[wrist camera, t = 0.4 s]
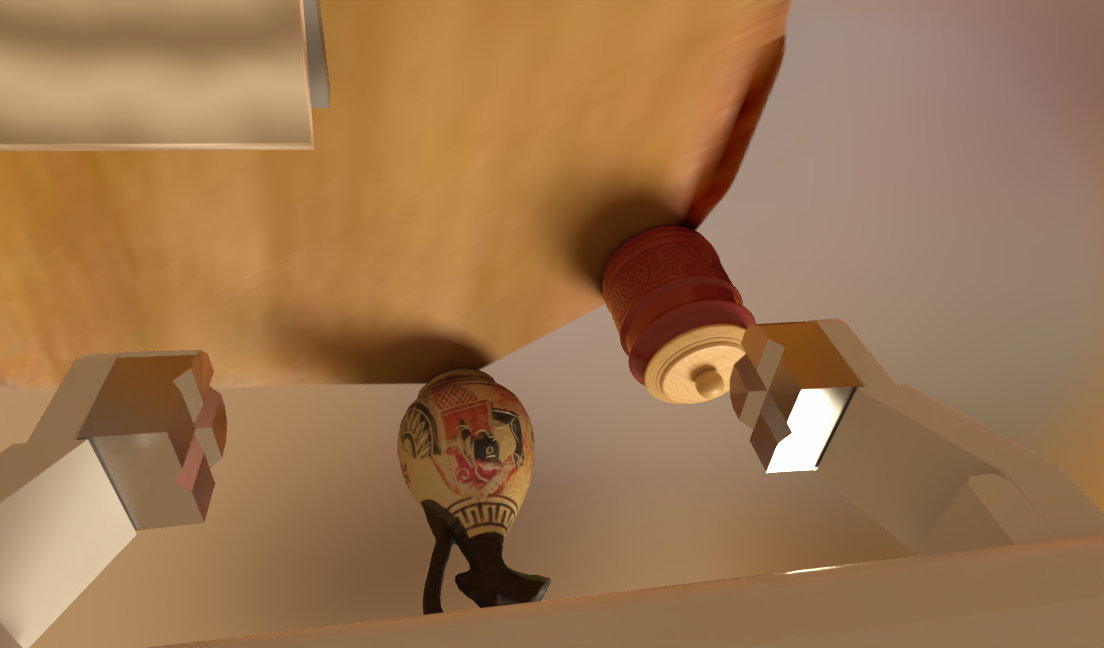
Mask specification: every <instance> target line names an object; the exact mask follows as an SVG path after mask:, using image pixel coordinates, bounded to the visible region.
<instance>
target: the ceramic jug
mask: <svg viewBox="0 0 1104 648" xmlns="http://www.w3.org/2000/svg"><path fill="white" fill-rule="evenodd" d="M398 457H399V460H400V466H401V470H402V473H403V476H404V478H405V481H406V484H407V485H408V488H409V489H410V491H411V493H412V495H413V496H414V498H415V500H416V501H417V502H418V504H419V505H420V506H421V507H422V509H423V510H424V512H425V514H426V517H427V521H428V523H429V526H430V528H431V530H432V533H433V535H434V536H435V538H436V544H435V547H434V551H433V554H432V557H431V562H430V567H429V571H428V576H427V579H426V582H425V587H424V595H423V613H424V615H427V614H436V613H443V610H442V608H441V604H440V595H441V587H442V582H443V577H444V570H445V567H446V564H447V561H448V559H449V555H450V551H451V547H452V545H453V544H456V545H458V546H459V548H460V550H461V552H462V553H463V555H464V556H465V558H466V559H467V561H468V562H469V565H470V570H469V571H467V572H464V573H460V574H458V575H457V576H456V577H455V582H456V584H457V586H458V588H459V590H460V591H462V592H463V593H464V594H465V595H466V596H467V597H469V598H470V599H472V600H473V601H474V602H475V603H476V604H477V605H478V606H479V607H480V608H487V607H495V606H504V605H512V604H521V603H529V602H538V601H540V600H541V599H542V597H543V596H544V595H545V593H546V591H547V589H548V587H549V585H550V583H551V579H550V578H547V577H543V576H539V575H527V574H524V573H520V572H517V571H513V570H512V569H510V568H508V567H507V566H506V565H505V564H504V562H503V559H502V548H503V546H502V544H503V542H504V539H505V536H506V534H507V532H508V531H509V529H510V527H511V525H512V523H513V521H514V519H515V517H516V516H517V514H518V512H519V509H520V506H521V504H522V502H523V500H524V497H525V494H526V492H527V489H528V486H529V483H530V480H531V475H532V468H533V461H534V435H533V428H532V425H531V422H530V419H529V416H528V414H527V412H526V411H525V409H524V407H523V405H522V404H521V402H520V401H519V400H518V398H517V397H516V396H515V395H514V394H513V393H512V392H511V391H509V390H508V389H506V388H505V387H503V386H501V385H499V384H497V383H495V381H494V379H493V378H492V377H490V375H488V374H486V373H485V372H482V371H480V370H473V369H467V368H464V369H455V370H450V371H447V372H444V373H442V374H440V375H438V376H436V377H435V378H433V379H432V380H431V381H429V382H428V383H427V384H426V385H425V386H424V387H423V388H422V389H421V390H420V391H419V395H418V398H417V399H416V400H415V401H414V402H413V403H412V404H411V405H410V406H409V408H408V410H407V412H406V414H405V416H404V418H403V419H402V421H401V424H400V430H399V434H398Z"/></svg>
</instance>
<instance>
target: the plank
mask: <svg viewBox="0 0 1104 648" xmlns="http://www.w3.org/2000/svg"><path fill="white" fill-rule="evenodd" d="M106 150H314V139H313V126H312V113H311V100H310V87H309V74H308V60H307V47H306V34H305V21H304V8H303V0H0V151H106Z"/></svg>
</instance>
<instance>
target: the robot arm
mask: <svg viewBox="0 0 1104 648" xmlns="http://www.w3.org/2000/svg"><path fill="white" fill-rule="evenodd" d="M741 345H742V347H743V349H744V350H745V352H746V354H745V355H744V356H743V357H742V358H740V359H739V360H738V361H737V362H736V363H735V364H734V366H733V369H732V373H731V377H730V398H731V402H732V405H733V409H734V411H735V413H736V415H737V417H738V418H739V420H740V421H742V422H743V423H745V424H746V425H748V426H749V427H751V428H752V429H753V432H752V435H751V438H750V442H751V444H752V446H753V448H754V450H755V451H756V453H757V455H758V457H759V459H760V461H761V463H762V464H763V467H764V468H765V470H766V472H779V471H780V472H781V471H797V470H813V469H817V470H816V472H817V473H818V474H819V475H820V476H821V477H823V478H824V479H825V480H826V481H827V482H829V483H830V484H831V485H832V486H833V487H835V488H836V489H837V490H838V491H840V492H841V493H842V494H843V495H844V496H846V497H847V498H848V499H849V500H851V501H852V502H853V503H854V504H855V505H857V506H858V507H859V508H860V509H862V510H863V511H864V512H865V513H866V514H868V515H869V516H870V517H871V518H872V519H874V520H875V521H876V522H877V523H878V524H880V525H881V526H882V527H883V528H885V529H886V530H887V531H888V532H889V533H891V534H892V535H893V536H894V537H896V538H897V539H898V540H899V541H900V542H902V543H903V544H904V545H905V546H907V547H908V548H909V549H910V550H911V551H913V552H914V554H913V556H912V557H908V558H900V559H891V560H883V561H874V562H865V563H857V564H848V565H840V566H832V567H823V568H814V569H806V570H798V571H790V572H781V573H774V574H765V575H756V576H748V577H740V578H731V579H723V580H715V581H707V582H698V583H690V584H681V585H674V586H665V587H657V588H649V589H640V590H632V591H623V592H614V593H607V594H598V595H589V596H580V597H573V598H564V599H555V600H546V601H538V602H529V603H521V604H512V605H504V606H495V607H487V608H479V609H470V610H462V611H453V612H444V613H436V614H427V615H419V616H410V617H402V618H394V619H385V620H377V621H369V622H360V623H353V624H352V623H351V624H343V625H335V626H326V627H318V628H310V629H302V630H292V631H284V632H276V633H267V634H259V635H250V636H242V637H233V638H225V639H216V640H208V641H200V642H191V643H183V644H174V645H166V646H157V647H150V648H1104V513H1103V512H1102V511H1101V510H1100V509H1099V508H1098V507H1097V506H1096V505H1095V504H1094V503H1093V502H1092V501H1091V500H1090V498H1089V497H1087V495H1086V494H1085V493H1084V492H1083V491H1082V490H1081V489H1080V488H1079V487H1078V486H1077V485H1076V484H1075V483H1074V482H1073V481H1072V479H1071V478H1070V477H1069V476H1068V475H1067V474H1066V473H1065V472H1064V471H1063V470H1062V469H1061V468H1060V467H1059V466H1058V465H1056V464H1054V463H1052V462H1051V461H1048V460H1047V459H1045V458H1043V457H1041V456H1039V455H1037V454H1036V453H1033V452H1032V451H1030V450H1028V449H1026V448H1024V447H1022V446H1020V445H1018V444H1017V443H1015V442H1013V441H1011V440H1009V439H1007V438H1005V437H1004V436H1002V435H1000V434H998V433H996V432H994V431H992V430H990V429H989V428H987V427H985V426H983V425H981V424H979V423H977V422H975V421H973V420H972V419H970V418H968V417H966V416H964V415H962V414H960V413H958V412H956V411H955V410H953V409H950V408H949V407H947V406H945V405H943V404H941V403H940V402H938V401H936V400H934V399H932V398H930V397H928V396H926V395H924V394H923V393H921V392H919V391H917V390H915V389H913V388H911V387H909V386H908V385H906V384H901V385H896V383H895V382H894V381H893V380H892V379H891V377H890V376H889V375H888V374H887V372H886V371H885V370H884V369H883V367H882V366H881V365H880V364H879V363H878V361H877V360H876V359H875V358H874V356H873V355H872V354H871V353H870V352H869V350H868V349H867V348H866V347H865V346H864V344H863V343H862V342H861V341H860V339H859V338H858V337H857V336H856V334H855V333H854V332H853V331H852V329H851V328H850V327H849V326H848V325H847V323H845V322H844V321H841V320H840V319H823V320H810V321H807V322H806V321H803V322H784V323H766V324H751V325H750V326H749V327H748V328H747V330H746V331H745V333H744V336H743V338H742V341H741ZM213 373H214V370H213V367H212V365H211V362H210V359H209V356H208V354H207V353H205V352H204V351H202V350H185V351H147V352H125V353H96V354H84V355H82V356H80V357H79V358H77V359H76V360H75V361H74V362H73V364H72V366H71V367H70V369H69V371H68V372H67V374H66V376H65V378H64V379H63V381H62V383H61V385H60V386H59V388H58V390H57V391H56V393H55V395H54V397H53V399H52V400H51V402H50V404H49V406H48V407H47V409H46V410H45V412H44V414H43V416H42V417H41V419H40V421H39V423H38V424H37V426H36V428H35V429H34V431H33V433H32V435H31V436H30V438H29V440H28V442H27V443H23V444H13V445H11V446H10V447H8V448H7V449H5V450H4V451H2V452H1V453H0V648H29V647H30V646H31V645H32V644H33V643H34V642H35V641H36V640H37V639H38V638H39V637H40V636H41V634H42V633H43V632H44V631H45V630H46V629H47V628H48V627H49V626H50V625H51V624H52V623H53V622H54V621H55V620H56V619H57V617H59V615H60V614H61V613H62V612H63V611H64V610H65V609H66V608H67V607H68V606H69V605H70V604H71V603H72V602H73V601H74V600H75V599H76V597H77V596H78V595H79V594H80V593H81V592H82V591H83V590H84V589H85V588H86V587H87V586H88V585H89V584H90V583H91V582H92V581H93V580H94V578H95V577H96V576H97V575H98V574H99V573H100V572H101V571H102V570H103V569H104V568H105V567H106V566H107V565H108V563H110V561H112V559H113V558H114V557H115V556H116V555H117V554H118V553H119V552H120V551H121V550H122V549H123V548H124V547H125V546H126V545H127V544H128V543H129V542H130V541H131V539H132V538H133V537H134V536H135V535H136V534H137V533H136V530H145V529H153V528H162V527H171V526H179V525H188V524H197V523H204V521H205V518H206V514H207V511H208V507H209V503H210V500H211V496H212V493H213V489H214V486H215V481H214V479H213V476H212V473H211V470H210V468H211V467H212V466H214V465H215V464H216V463H217V462H218V461H219V460H220V459H221V458H222V456H223V452H224V448H225V444H226V434H227V417H226V411H225V405H224V402H223V398H222V395H221V394H220V393H219V392H217V391H216V390H215V389H213V388H212V387H210V382H211V379H212V376H213Z"/></svg>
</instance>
